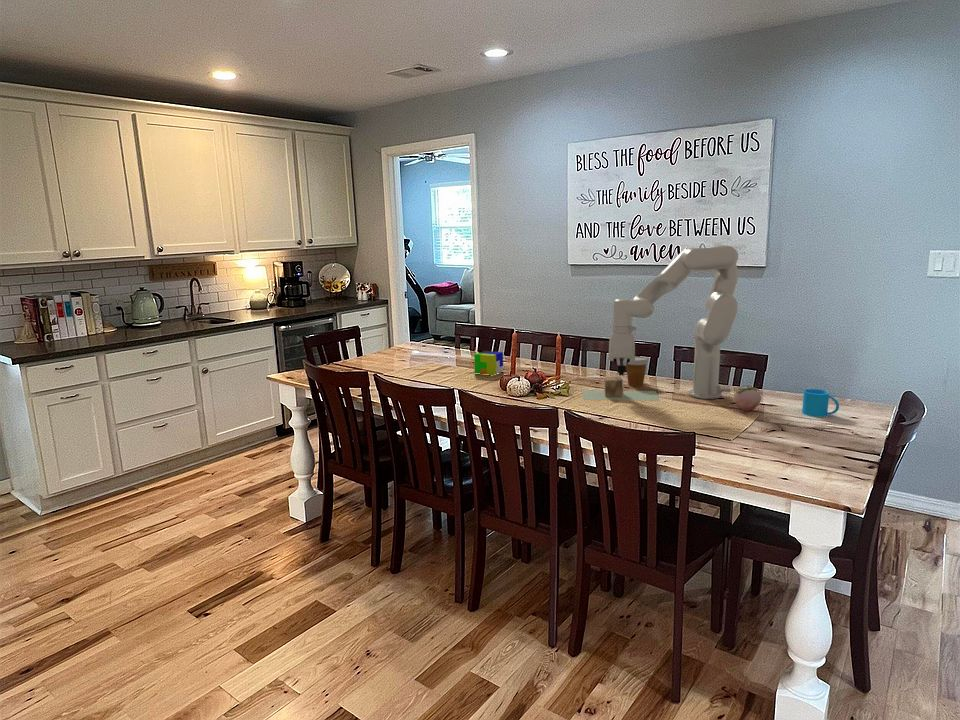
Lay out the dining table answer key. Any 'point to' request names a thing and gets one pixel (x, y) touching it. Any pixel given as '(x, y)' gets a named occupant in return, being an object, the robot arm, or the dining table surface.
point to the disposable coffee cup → (636, 371)
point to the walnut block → (613, 386)
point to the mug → (817, 403)
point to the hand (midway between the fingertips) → (621, 374)
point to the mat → (626, 396)
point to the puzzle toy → (488, 362)
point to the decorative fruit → (747, 398)
